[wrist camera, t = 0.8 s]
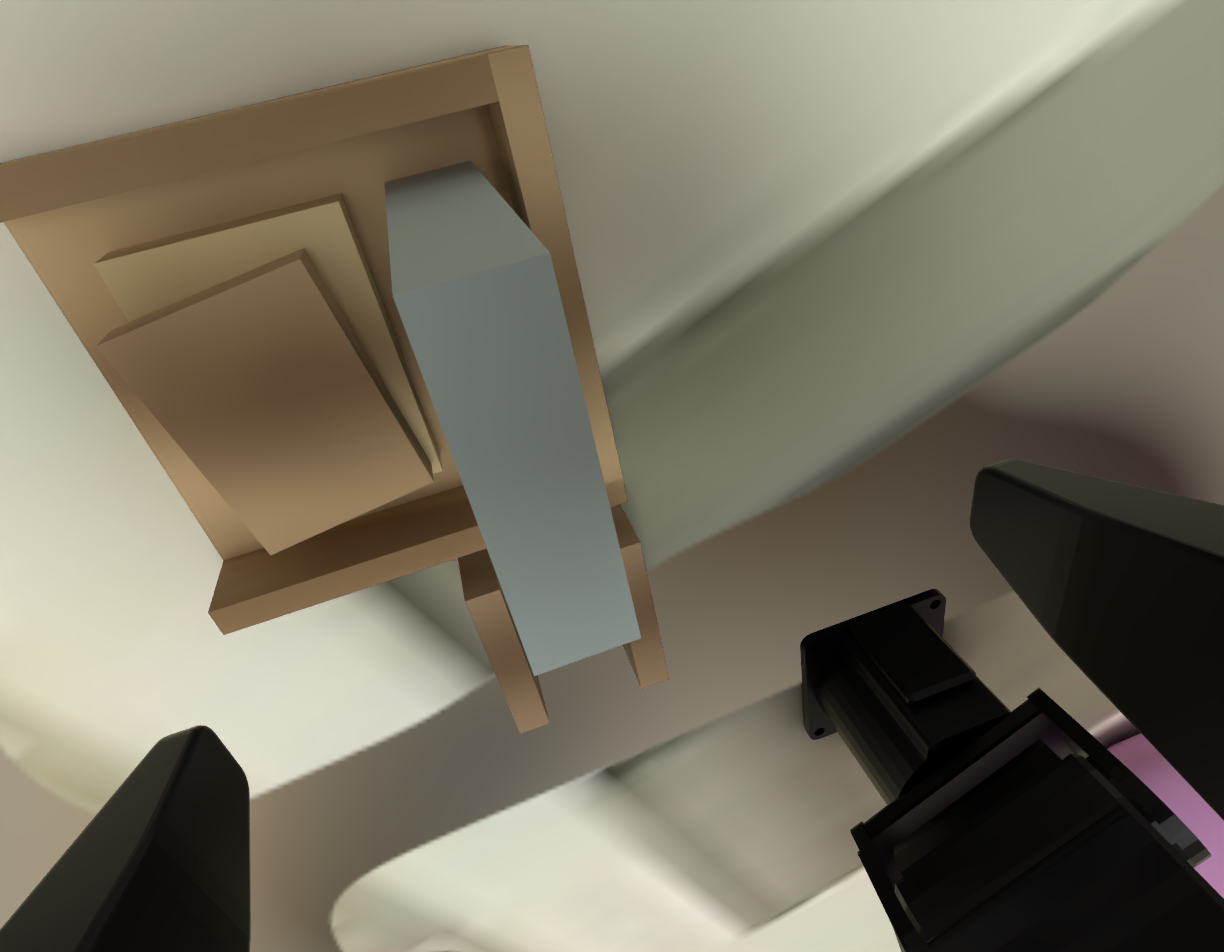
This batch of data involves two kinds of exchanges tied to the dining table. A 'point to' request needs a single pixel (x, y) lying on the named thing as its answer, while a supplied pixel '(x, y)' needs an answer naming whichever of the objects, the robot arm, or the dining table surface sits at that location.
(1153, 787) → the teapot
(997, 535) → the robot arm
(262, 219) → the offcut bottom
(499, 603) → the holder
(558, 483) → the grey rectangular slab
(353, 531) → the tray
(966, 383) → the dining table surface
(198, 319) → the offcut top
